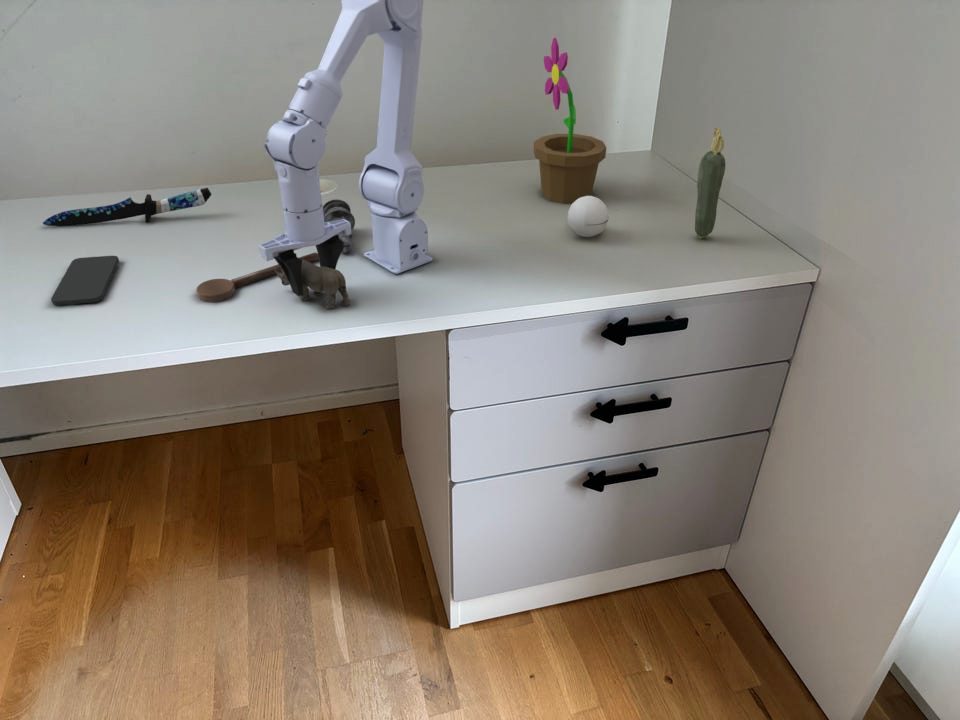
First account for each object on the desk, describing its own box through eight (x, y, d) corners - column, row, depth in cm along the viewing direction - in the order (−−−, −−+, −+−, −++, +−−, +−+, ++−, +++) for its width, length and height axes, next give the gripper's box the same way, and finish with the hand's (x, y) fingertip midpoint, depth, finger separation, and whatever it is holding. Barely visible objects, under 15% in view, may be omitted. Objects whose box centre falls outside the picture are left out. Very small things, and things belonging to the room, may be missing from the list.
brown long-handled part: (310, 253, 133) (309, 246, 132) (327, 264, 129) (327, 257, 129) (191, 292, 121) (190, 284, 120) (207, 305, 118) (205, 297, 117)
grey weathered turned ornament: (334, 230, 142) (343, 271, 134) (312, 211, 138) (320, 251, 130) (358, 212, 141) (369, 252, 133) (337, 192, 136) (347, 232, 128)
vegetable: (712, 245, 137) (733, 134, 126) (687, 243, 138) (706, 132, 126) (710, 235, 140) (731, 126, 129) (686, 233, 141) (705, 124, 130)
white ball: (574, 246, 136) (577, 207, 132) (560, 229, 142) (563, 191, 138) (626, 240, 138) (631, 201, 134) (610, 224, 144) (614, 186, 140)
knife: (216, 207, 147) (209, 184, 144) (214, 213, 144) (206, 190, 142) (53, 231, 145) (43, 209, 142) (48, 237, 142) (38, 215, 140)
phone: (48, 302, 116) (73, 258, 129) (50, 306, 117) (74, 262, 129) (100, 298, 118) (119, 254, 130) (101, 302, 118) (121, 259, 130)
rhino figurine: (287, 280, 124) (282, 246, 121) (355, 302, 119) (352, 267, 115) (269, 291, 121) (264, 256, 118) (338, 313, 116) (335, 277, 112)
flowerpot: (521, 185, 161) (527, 32, 144) (584, 178, 165) (597, 28, 148) (546, 210, 150) (556, 48, 133) (613, 203, 153) (630, 43, 137)
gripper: (330, 186, 118) (338, 265, 126) (243, 210, 110) (258, 293, 118) (355, 199, 114) (363, 280, 121) (268, 225, 106) (281, 310, 113)
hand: (313, 288), depth 119 cm, fingers closed on rhino figurine, 5 cm apart
